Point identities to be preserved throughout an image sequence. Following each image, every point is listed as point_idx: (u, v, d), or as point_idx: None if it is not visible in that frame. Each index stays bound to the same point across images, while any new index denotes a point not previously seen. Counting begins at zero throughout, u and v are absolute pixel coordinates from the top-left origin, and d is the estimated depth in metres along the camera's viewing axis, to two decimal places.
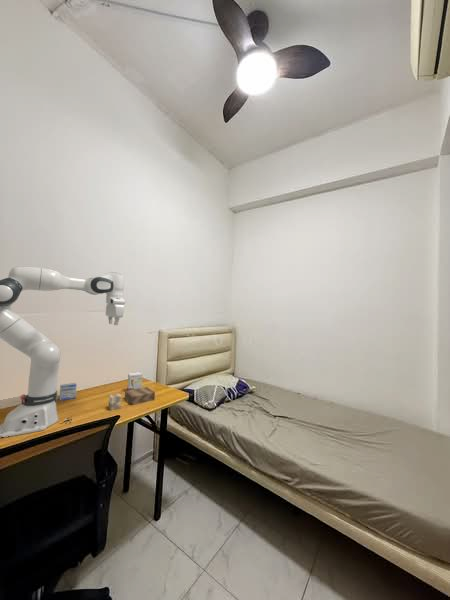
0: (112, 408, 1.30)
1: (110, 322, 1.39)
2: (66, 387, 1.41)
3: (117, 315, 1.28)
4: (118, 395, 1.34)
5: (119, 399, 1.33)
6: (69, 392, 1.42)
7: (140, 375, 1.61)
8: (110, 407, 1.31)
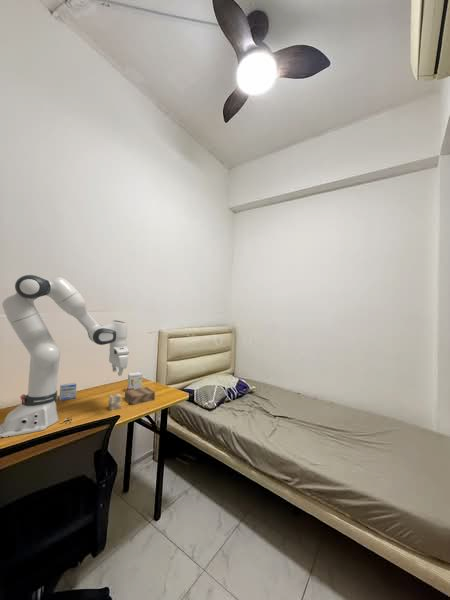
0: (112, 408, 1.30)
1: (114, 370, 1.37)
2: (66, 387, 1.41)
3: (121, 367, 1.26)
4: (118, 395, 1.34)
5: (119, 399, 1.33)
6: (69, 392, 1.42)
7: (140, 375, 1.61)
8: (110, 407, 1.31)
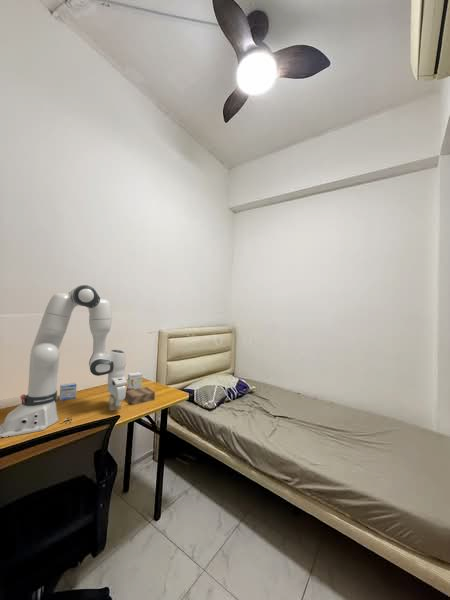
0: (112, 408, 1.30)
1: None
2: (66, 387, 1.41)
3: (119, 399, 1.26)
4: None
5: None
6: (69, 392, 1.42)
7: (140, 375, 1.61)
8: (110, 407, 1.31)
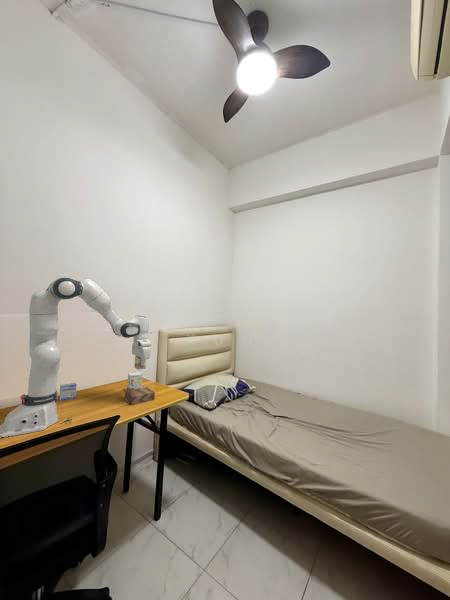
0: (138, 367, 1.44)
1: None
2: (66, 387, 1.41)
3: (145, 357, 1.39)
4: None
5: None
6: (69, 392, 1.42)
7: (140, 375, 1.61)
8: (136, 367, 1.45)
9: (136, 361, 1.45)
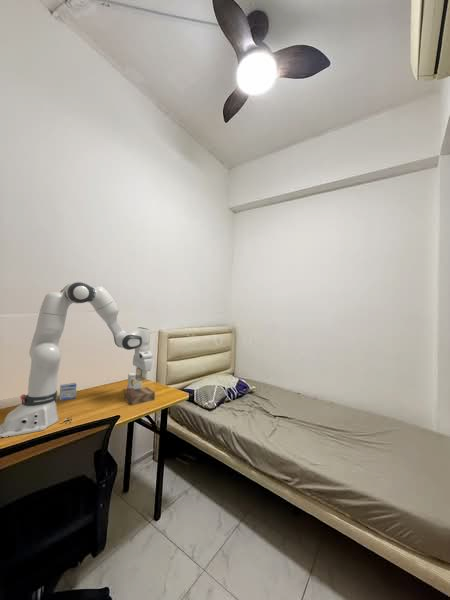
0: (139, 379, 1.45)
1: None
2: (66, 387, 1.41)
3: (146, 369, 1.40)
4: None
5: None
6: (69, 392, 1.42)
7: None
8: (137, 378, 1.46)
9: (137, 373, 1.46)
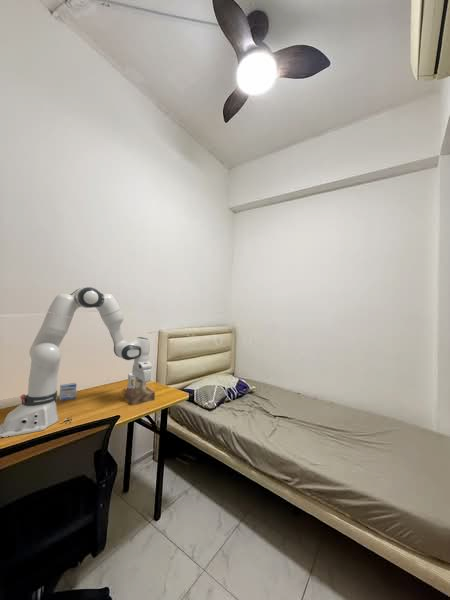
0: (138, 391, 1.44)
1: None
2: (66, 387, 1.41)
3: (145, 380, 1.40)
4: None
5: None
6: (69, 392, 1.42)
7: None
8: (136, 391, 1.45)
9: (136, 385, 1.46)
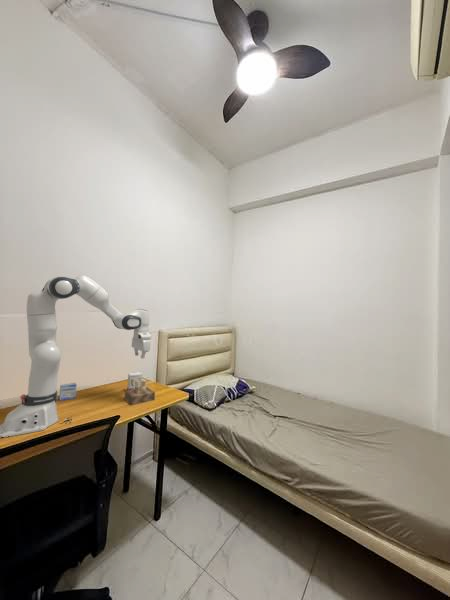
0: (138, 391, 1.44)
1: (136, 354, 1.51)
2: (66, 387, 1.41)
3: (144, 350, 1.40)
4: (143, 380, 1.48)
5: (144, 383, 1.47)
6: (69, 392, 1.42)
7: (140, 375, 1.61)
8: (136, 390, 1.45)
9: (136, 385, 1.46)
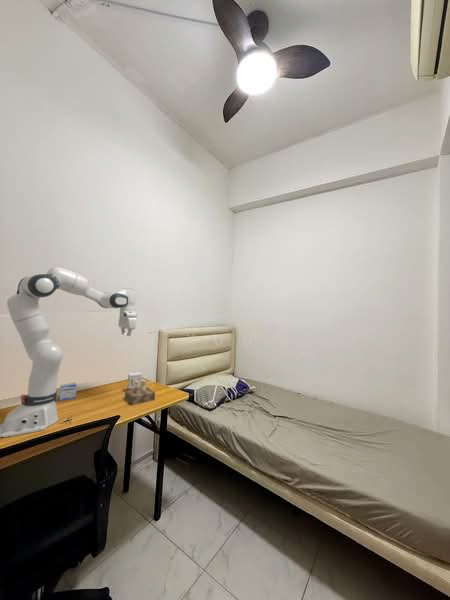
0: (138, 392, 1.44)
1: (123, 333, 1.54)
2: (66, 387, 1.41)
3: (130, 327, 1.43)
4: (143, 380, 1.48)
5: (144, 384, 1.46)
6: (69, 392, 1.42)
7: (140, 375, 1.61)
8: (136, 391, 1.45)
9: (136, 385, 1.45)
